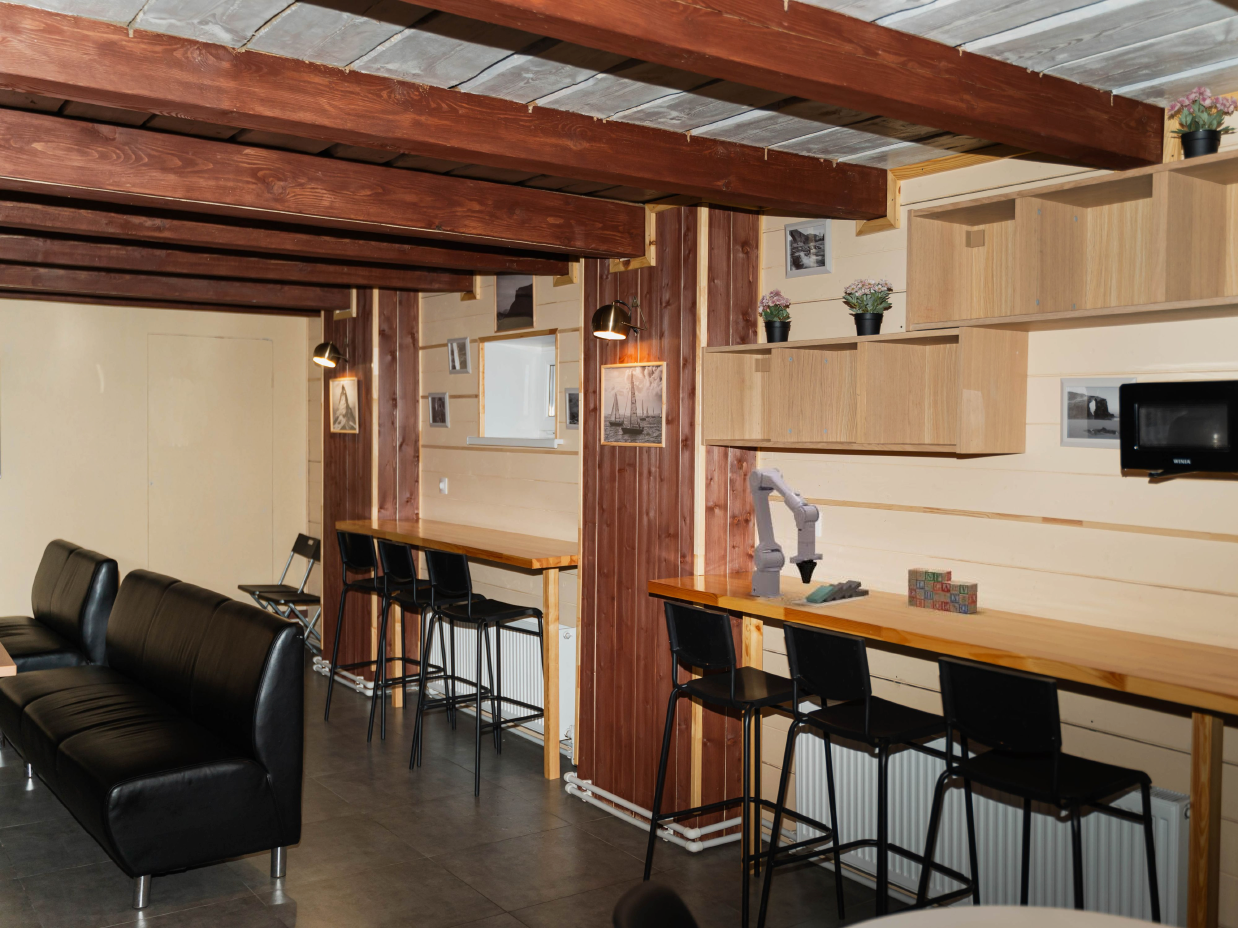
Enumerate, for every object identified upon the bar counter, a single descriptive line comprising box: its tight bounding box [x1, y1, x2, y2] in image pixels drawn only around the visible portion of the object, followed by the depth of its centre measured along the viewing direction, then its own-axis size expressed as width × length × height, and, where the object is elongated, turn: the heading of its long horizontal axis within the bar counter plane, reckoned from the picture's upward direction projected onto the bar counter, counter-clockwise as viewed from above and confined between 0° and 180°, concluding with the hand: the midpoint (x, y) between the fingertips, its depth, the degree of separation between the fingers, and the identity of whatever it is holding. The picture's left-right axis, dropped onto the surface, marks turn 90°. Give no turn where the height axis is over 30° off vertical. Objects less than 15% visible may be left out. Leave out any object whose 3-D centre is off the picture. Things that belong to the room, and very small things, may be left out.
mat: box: [790, 596, 865, 608], centre depth 357 cm, size 12×25×1 cm, turn 130°
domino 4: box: [842, 579, 862, 598], centre depth 363 cm, size 2×5×9 cm
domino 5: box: [848, 588, 870, 598], centre depth 366 cm, size 2×5×9 cm
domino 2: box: [823, 583, 843, 602], centre depth 357 cm, size 2×5×9 cm
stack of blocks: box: [907, 567, 979, 615], centre depth 342 cm, size 21×6×12 cm, turn 44°
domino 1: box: [805, 584, 835, 604], centre depth 354 cm, size 2×5×9 cm
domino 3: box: [831, 581, 852, 601], centre depth 360 cm, size 2×5×9 cm
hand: (806, 583), depth 349 cm, fingers closed
